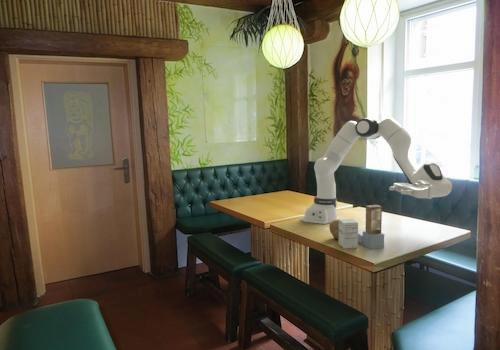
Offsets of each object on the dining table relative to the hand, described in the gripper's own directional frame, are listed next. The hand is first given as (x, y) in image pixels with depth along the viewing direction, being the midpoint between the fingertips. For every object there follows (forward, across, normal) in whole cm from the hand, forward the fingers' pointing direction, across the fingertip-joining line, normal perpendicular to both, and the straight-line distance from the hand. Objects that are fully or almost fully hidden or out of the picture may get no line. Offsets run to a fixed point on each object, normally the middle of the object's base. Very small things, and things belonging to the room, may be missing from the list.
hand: (395, 190), depth 186 cm
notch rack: (+13, -1, +26) cm, 29 cm away
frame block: (+13, +3, +19) cm, 23 cm away
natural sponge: (+24, -12, +27) cm, 37 cm away
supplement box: (+24, 0, +26) cm, 36 cm away
